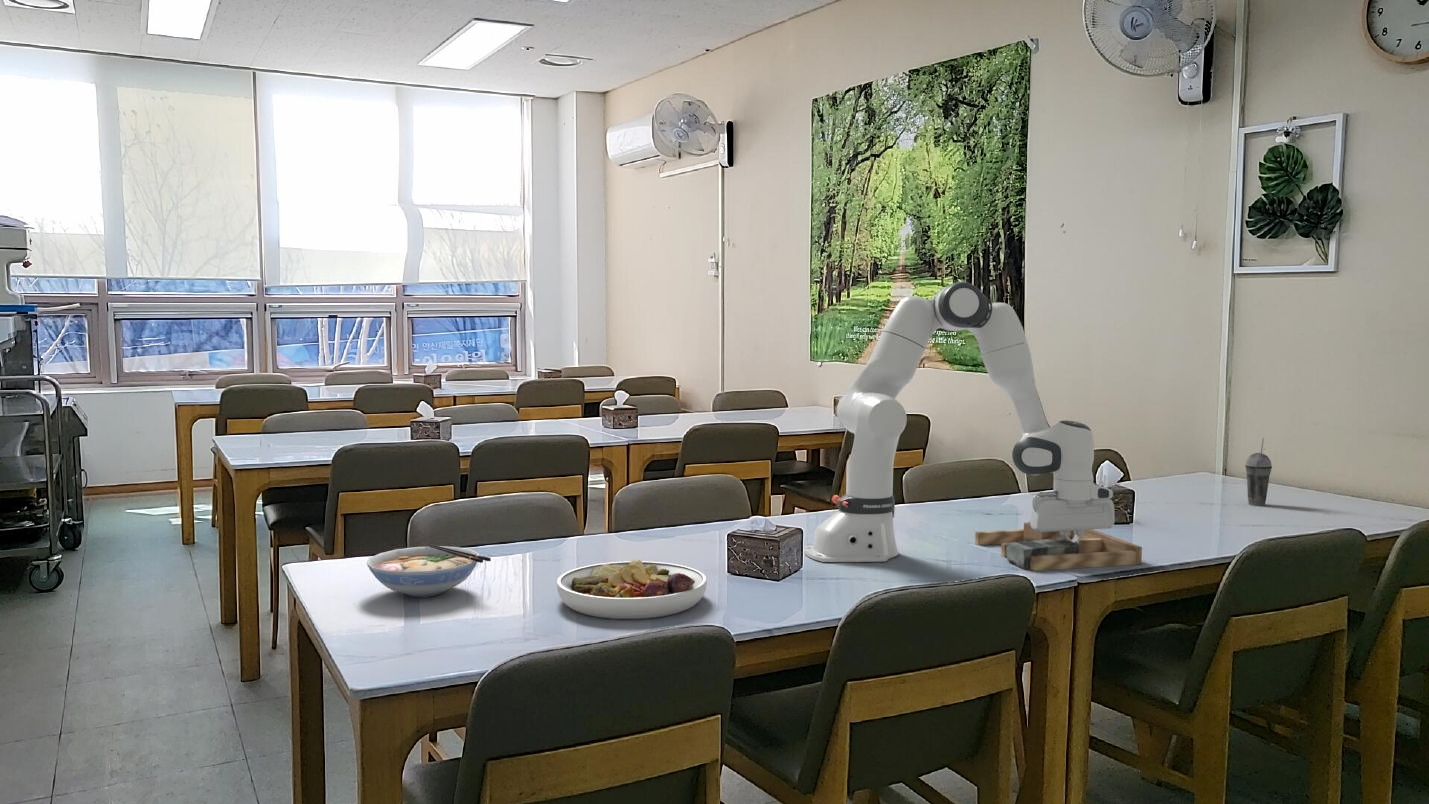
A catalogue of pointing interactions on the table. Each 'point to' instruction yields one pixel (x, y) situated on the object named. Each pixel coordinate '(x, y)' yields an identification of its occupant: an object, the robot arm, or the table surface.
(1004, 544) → the divided wooden tray
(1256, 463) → the beverage cup
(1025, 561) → the stone block
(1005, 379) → the robot arm
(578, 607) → the bowl
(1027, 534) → the walnut block
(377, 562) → the ramen bowl
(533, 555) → the table surface
